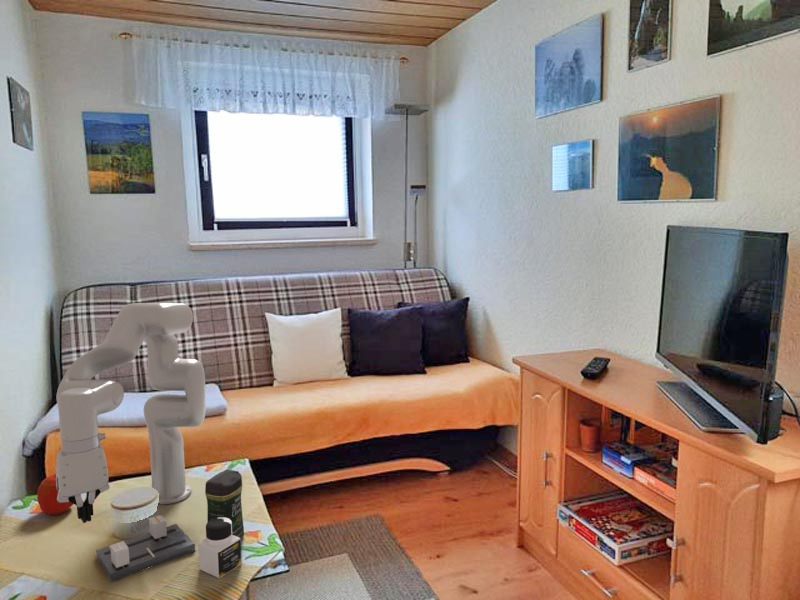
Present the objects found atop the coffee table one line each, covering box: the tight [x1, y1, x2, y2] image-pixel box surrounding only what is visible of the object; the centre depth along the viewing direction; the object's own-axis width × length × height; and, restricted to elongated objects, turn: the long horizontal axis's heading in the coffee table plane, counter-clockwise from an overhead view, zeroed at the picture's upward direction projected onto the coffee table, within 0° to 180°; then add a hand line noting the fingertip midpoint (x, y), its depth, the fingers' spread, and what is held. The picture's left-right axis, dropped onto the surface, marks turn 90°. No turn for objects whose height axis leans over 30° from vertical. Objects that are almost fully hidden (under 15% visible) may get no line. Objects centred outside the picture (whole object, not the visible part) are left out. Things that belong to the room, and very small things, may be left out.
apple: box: [36, 473, 74, 516], centre depth 173 cm, size 10×10×12 cm
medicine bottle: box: [198, 517, 242, 579], centre depth 145 cm, size 7×7×12 cm
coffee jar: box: [204, 469, 245, 540], centre depth 156 cm, size 10×8×19 cm
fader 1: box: [109, 540, 130, 568], centre depth 144 cm, size 4×3×4 cm
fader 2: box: [148, 514, 167, 539], centre depth 156 cm, size 4×3×4 cm
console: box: [95, 523, 196, 583], centre depth 151 cm, size 13×20×2 cm, turn 130°
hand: (85, 519), depth 138 cm, fingers closed
